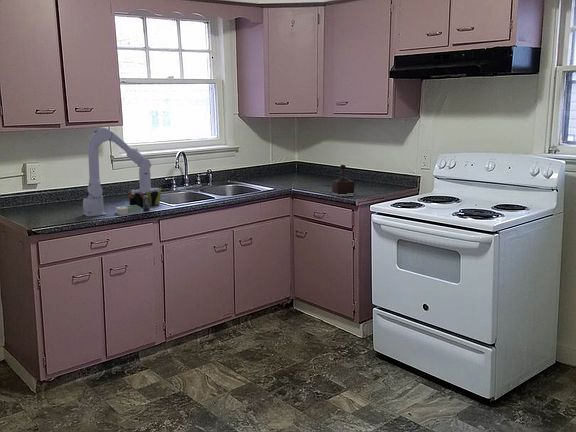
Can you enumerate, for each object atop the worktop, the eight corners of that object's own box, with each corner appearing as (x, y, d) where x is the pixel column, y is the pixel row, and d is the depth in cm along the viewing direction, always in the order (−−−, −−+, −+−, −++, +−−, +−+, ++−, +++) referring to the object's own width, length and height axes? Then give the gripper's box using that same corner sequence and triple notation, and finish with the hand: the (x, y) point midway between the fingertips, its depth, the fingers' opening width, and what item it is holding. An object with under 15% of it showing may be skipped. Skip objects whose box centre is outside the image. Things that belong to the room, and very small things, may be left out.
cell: (144, 211, 305) (144, 197, 304) (142, 210, 308) (141, 196, 306) (150, 210, 307) (149, 196, 306) (148, 209, 310) (147, 195, 308)
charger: (120, 215, 295) (120, 208, 294) (115, 212, 301) (114, 206, 301) (142, 212, 301) (142, 206, 300) (136, 210, 308) (136, 204, 307)
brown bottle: (355, 196, 352) (356, 167, 348) (339, 197, 348) (339, 167, 344) (343, 192, 366) (344, 164, 362) (327, 193, 362) (328, 164, 358)
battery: (129, 207, 316) (128, 189, 314) (142, 206, 319) (141, 188, 317) (131, 208, 312) (130, 190, 310) (144, 207, 316) (143, 189, 314)
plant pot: (149, 202, 330) (148, 187, 328) (165, 203, 328) (164, 188, 326) (142, 205, 321) (141, 190, 319) (158, 206, 319) (157, 190, 317)
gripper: (134, 183, 297) (135, 209, 300) (161, 181, 305) (162, 206, 308) (129, 181, 303) (130, 207, 306) (155, 179, 311) (156, 204, 314)
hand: (146, 206), depth 307 cm, fingers open, 7 cm apart
